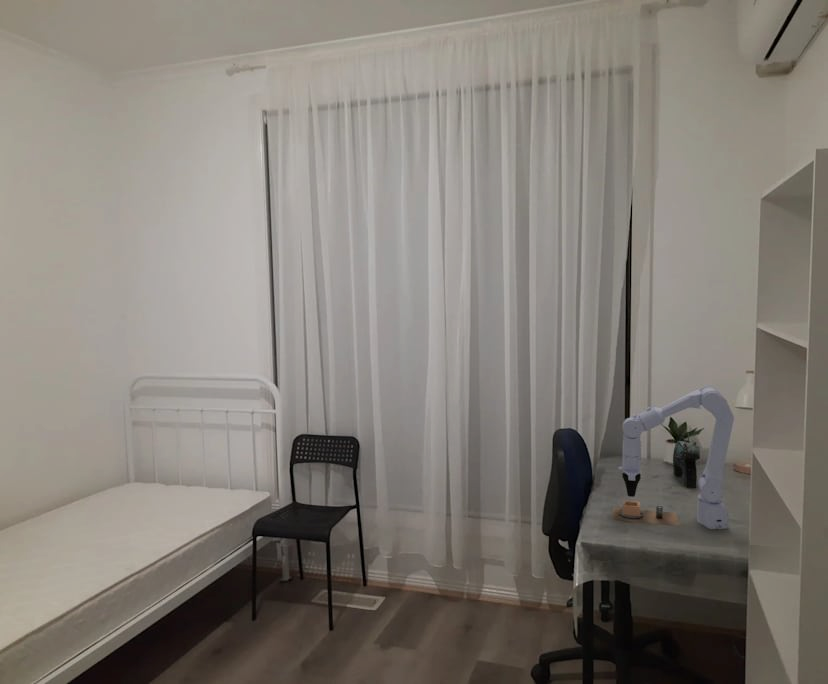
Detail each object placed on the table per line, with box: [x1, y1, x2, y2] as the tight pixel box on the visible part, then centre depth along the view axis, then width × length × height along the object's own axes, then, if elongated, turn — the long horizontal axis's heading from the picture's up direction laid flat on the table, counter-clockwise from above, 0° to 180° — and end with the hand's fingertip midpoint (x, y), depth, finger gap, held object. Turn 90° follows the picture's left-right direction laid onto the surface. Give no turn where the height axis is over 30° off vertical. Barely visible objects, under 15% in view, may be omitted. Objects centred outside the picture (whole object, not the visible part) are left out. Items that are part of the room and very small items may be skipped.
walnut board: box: [612, 507, 680, 527], centre depth 206 cm, size 20×12×2 cm, turn 72°
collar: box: [622, 500, 641, 516], centre depth 207 cm, size 5×5×3 cm
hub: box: [619, 505, 643, 519], centre depth 207 cm, size 8×8×3 cm
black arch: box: [672, 432, 701, 489], centre depth 246 cm, size 20×6×20 cm, turn 173°
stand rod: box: [655, 505, 664, 519], centre depth 204 cm, size 2×2×4 cm
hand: (631, 495), depth 206 cm, fingers closed
